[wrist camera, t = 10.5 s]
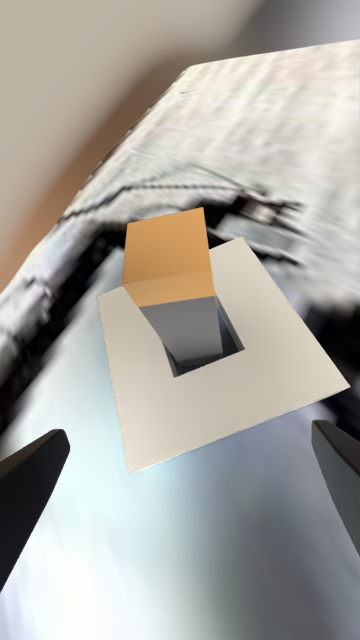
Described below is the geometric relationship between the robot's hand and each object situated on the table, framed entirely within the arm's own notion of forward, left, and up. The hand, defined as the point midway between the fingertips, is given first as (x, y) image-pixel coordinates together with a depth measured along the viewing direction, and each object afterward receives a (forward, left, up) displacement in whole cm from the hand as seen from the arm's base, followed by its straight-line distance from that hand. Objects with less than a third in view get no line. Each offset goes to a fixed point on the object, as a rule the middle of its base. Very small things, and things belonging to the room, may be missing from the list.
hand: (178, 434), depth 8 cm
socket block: (+8, -2, -12) cm, 14 cm away
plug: (+8, -2, -12) cm, 14 cm away
